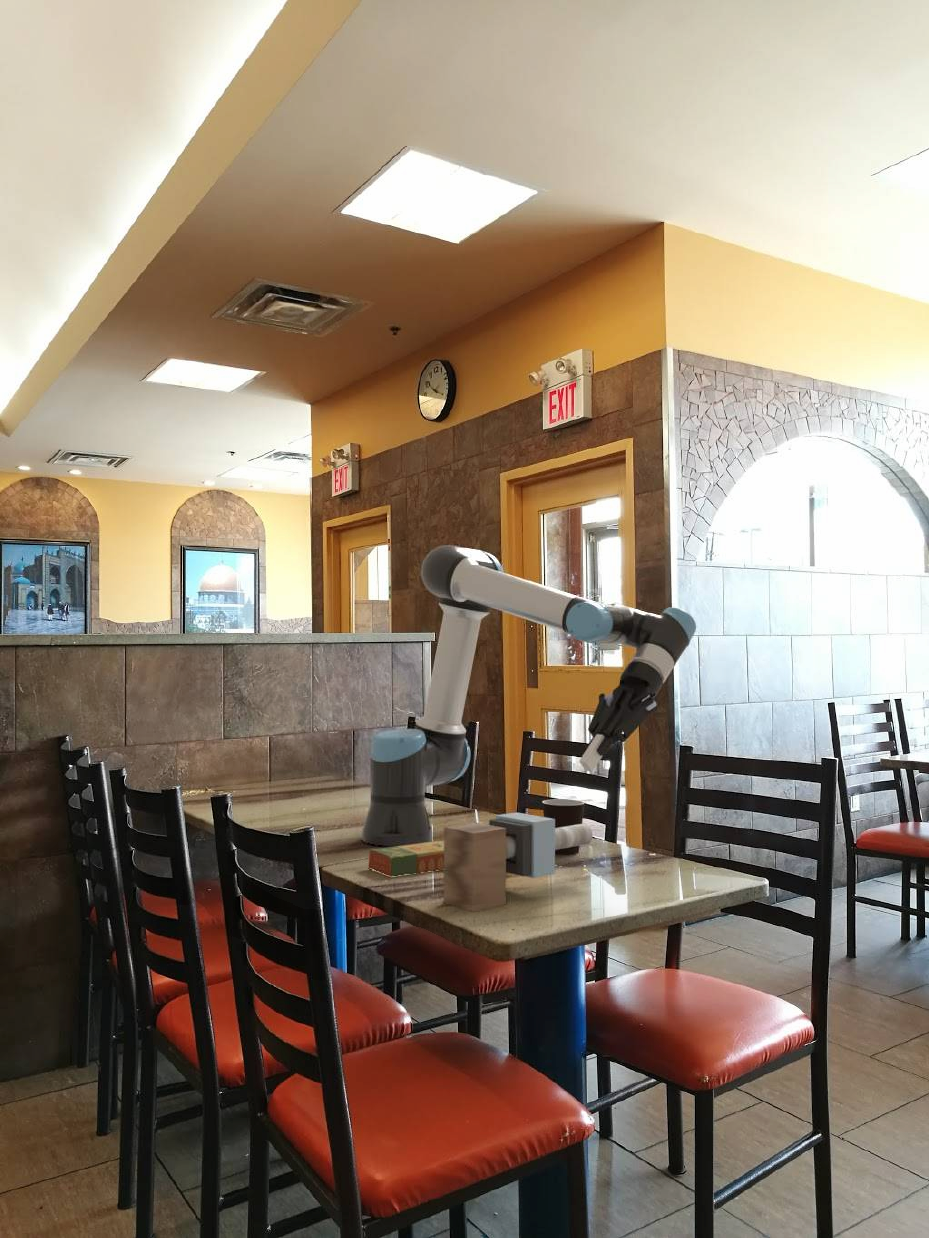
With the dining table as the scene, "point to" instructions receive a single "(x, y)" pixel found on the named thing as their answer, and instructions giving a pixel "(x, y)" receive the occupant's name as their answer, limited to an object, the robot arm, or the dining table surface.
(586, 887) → the dining table surface
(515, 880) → the dining table surface
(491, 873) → the pipe mount
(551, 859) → the sleeve
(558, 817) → the coffee mug
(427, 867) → the carton
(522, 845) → the dark gray square plate
